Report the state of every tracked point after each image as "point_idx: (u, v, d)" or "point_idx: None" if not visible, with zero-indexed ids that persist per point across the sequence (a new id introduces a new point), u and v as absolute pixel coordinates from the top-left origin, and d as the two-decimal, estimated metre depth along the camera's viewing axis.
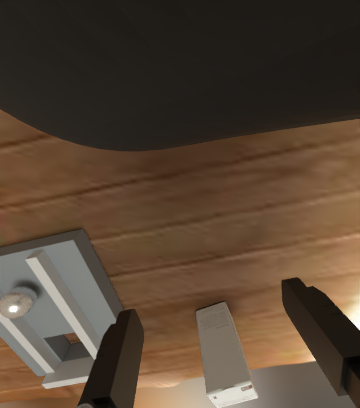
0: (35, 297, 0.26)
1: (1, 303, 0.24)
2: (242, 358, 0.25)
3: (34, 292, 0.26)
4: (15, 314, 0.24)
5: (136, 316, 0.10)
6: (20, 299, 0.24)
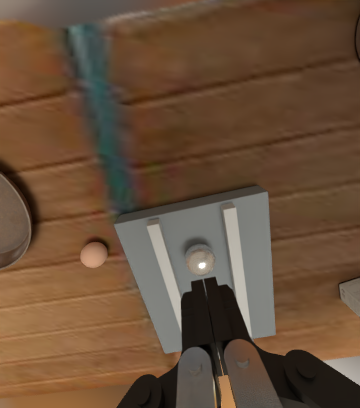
0: None
1: (194, 257, 0.22)
2: None
3: None
4: (208, 270, 0.22)
5: None
6: (211, 254, 0.23)
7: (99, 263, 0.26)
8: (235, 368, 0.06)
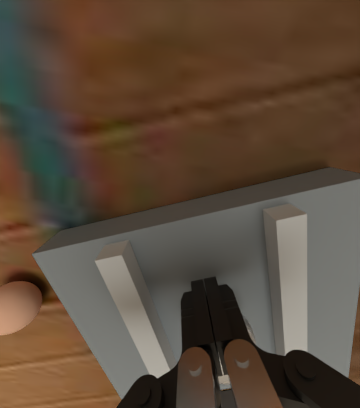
0: None
1: None
2: None
3: (243, 314, 0.12)
4: None
5: None
6: None
7: (17, 327, 0.13)
8: (235, 368, 0.06)
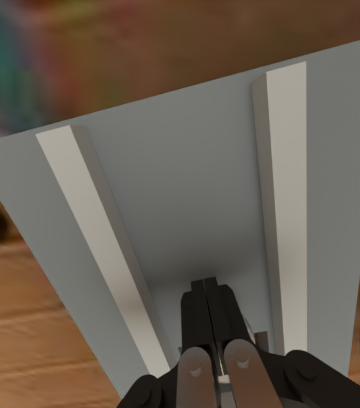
0: (253, 333, 0.11)
1: None
2: None
3: None
4: None
5: None
6: None
7: None
8: (235, 368, 0.06)
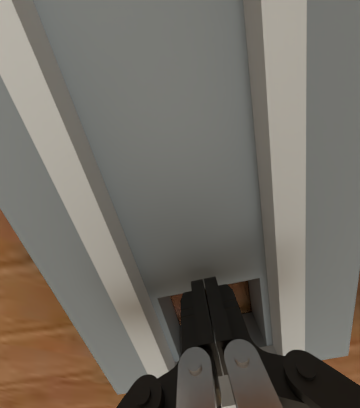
0: None
1: None
2: None
3: None
4: None
5: None
6: None
7: None
8: (235, 368, 0.06)
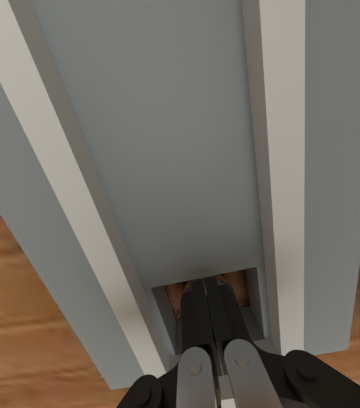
0: None
1: None
2: None
3: None
4: None
5: None
6: None
7: None
8: (235, 368, 0.06)
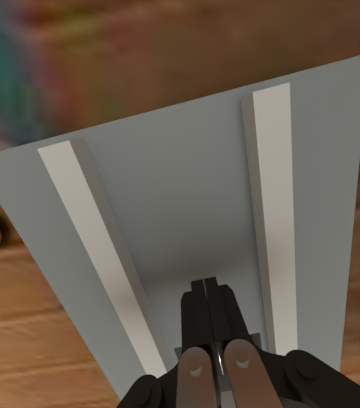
0: None
1: None
2: None
3: None
4: None
5: None
6: None
7: None
8: (235, 368, 0.06)
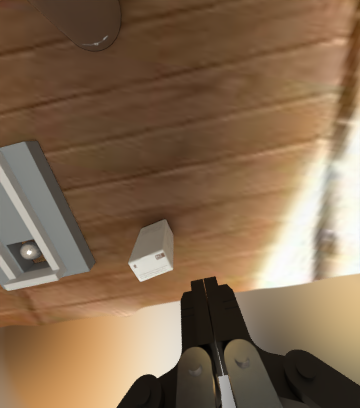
0: None
1: (23, 244, 0.37)
2: (162, 241, 0.30)
3: None
4: (28, 252, 0.37)
5: None
6: (34, 243, 0.38)
7: None
8: (235, 368, 0.06)
